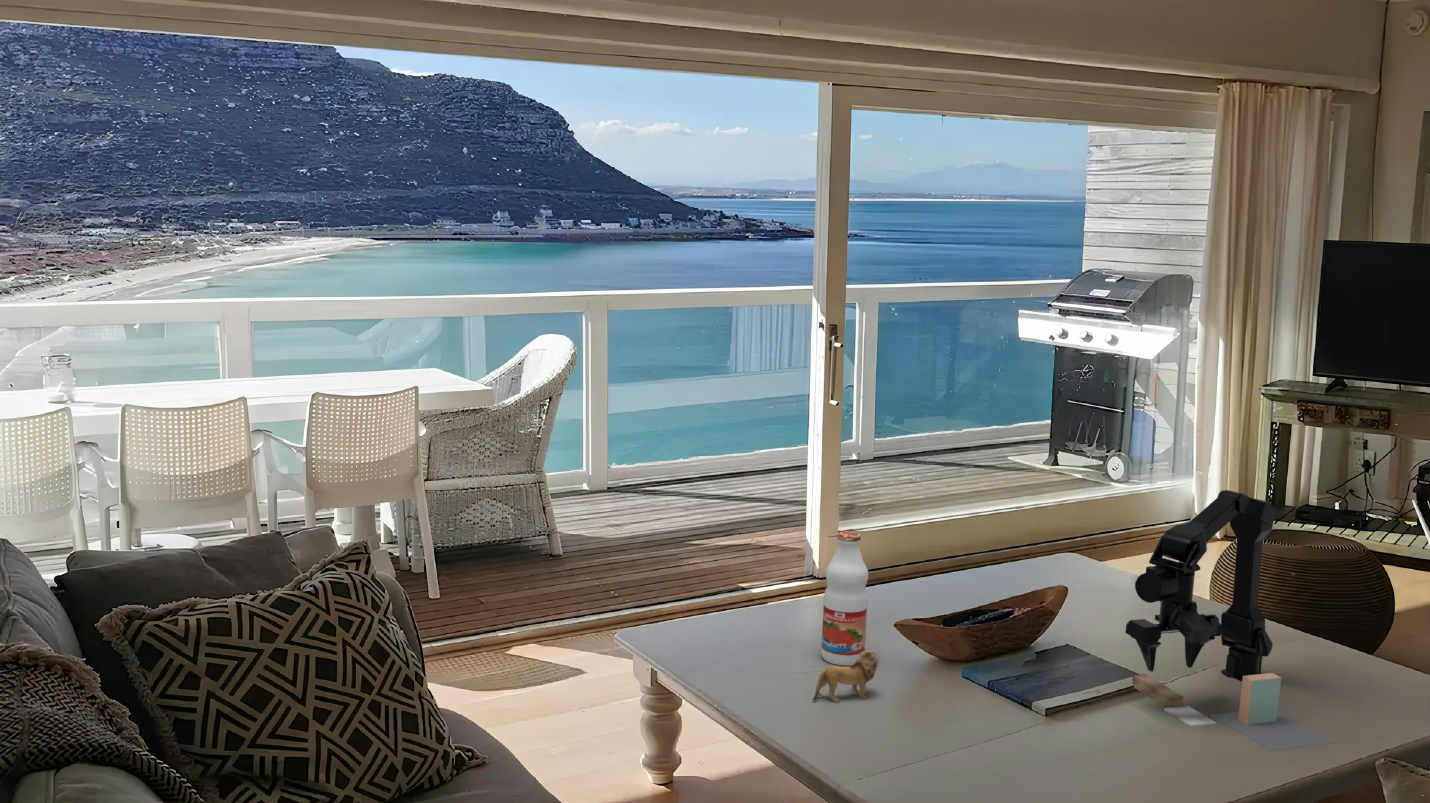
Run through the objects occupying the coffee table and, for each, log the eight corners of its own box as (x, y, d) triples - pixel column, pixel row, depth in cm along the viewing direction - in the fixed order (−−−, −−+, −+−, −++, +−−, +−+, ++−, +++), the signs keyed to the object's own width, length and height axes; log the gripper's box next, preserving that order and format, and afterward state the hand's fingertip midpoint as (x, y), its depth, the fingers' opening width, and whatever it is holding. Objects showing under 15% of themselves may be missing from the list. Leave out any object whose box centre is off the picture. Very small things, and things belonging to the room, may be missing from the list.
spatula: (1126, 689, 240) (1127, 675, 239) (1149, 687, 241) (1150, 673, 241) (1191, 729, 221) (1192, 715, 220) (1215, 727, 222) (1217, 712, 222)
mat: (1270, 710, 231) (1271, 707, 231) (1335, 744, 216) (1335, 742, 216) (1209, 717, 227) (1209, 714, 227) (1270, 753, 212) (1270, 750, 211)
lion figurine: (867, 686, 236) (869, 644, 235) (882, 696, 232) (884, 653, 230) (805, 697, 230) (807, 654, 228) (819, 707, 225) (822, 663, 224)
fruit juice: (870, 655, 253) (877, 532, 249) (855, 669, 245) (862, 541, 241) (830, 647, 258) (836, 525, 253) (814, 660, 249) (820, 535, 245)
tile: (1267, 716, 227) (1272, 672, 225) (1276, 721, 224) (1281, 677, 223) (1238, 719, 225) (1242, 675, 223) (1247, 725, 222) (1252, 680, 221)
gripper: (1164, 610, 218) (1157, 688, 220) (1245, 603, 224) (1237, 680, 226) (1127, 592, 229) (1120, 667, 231) (1205, 586, 234) (1197, 659, 236)
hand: (1169, 668), depth 231 cm, fingers open, 9 cm apart
